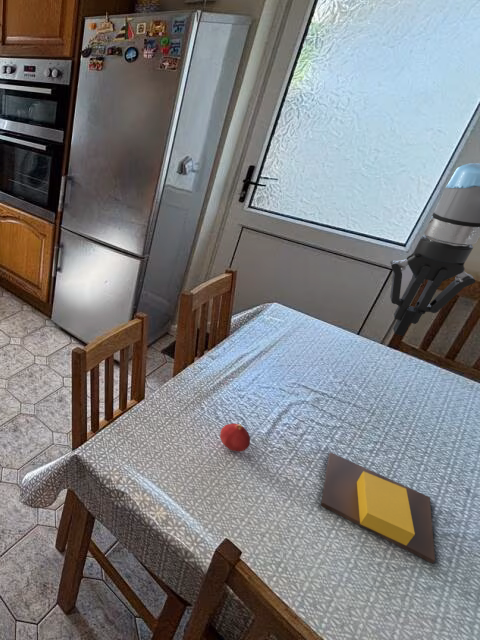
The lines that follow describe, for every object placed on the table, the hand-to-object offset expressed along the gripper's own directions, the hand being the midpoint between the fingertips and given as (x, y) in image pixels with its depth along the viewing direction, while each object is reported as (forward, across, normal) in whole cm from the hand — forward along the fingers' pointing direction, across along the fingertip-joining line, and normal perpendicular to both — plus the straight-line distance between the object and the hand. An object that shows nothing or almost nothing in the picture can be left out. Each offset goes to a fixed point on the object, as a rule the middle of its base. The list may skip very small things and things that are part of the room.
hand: (398, 332), depth 96 cm
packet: (+22, -2, +28) cm, 35 cm away
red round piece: (+25, +24, +33) cm, 48 cm away
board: (+24, -1, +30) cm, 39 cm away
